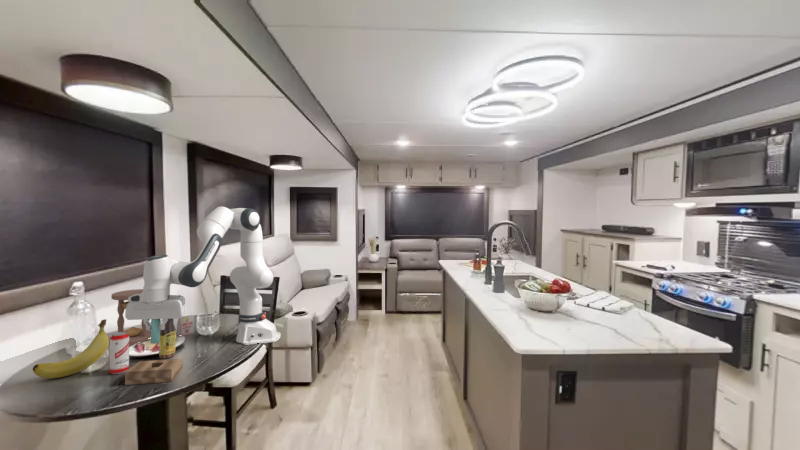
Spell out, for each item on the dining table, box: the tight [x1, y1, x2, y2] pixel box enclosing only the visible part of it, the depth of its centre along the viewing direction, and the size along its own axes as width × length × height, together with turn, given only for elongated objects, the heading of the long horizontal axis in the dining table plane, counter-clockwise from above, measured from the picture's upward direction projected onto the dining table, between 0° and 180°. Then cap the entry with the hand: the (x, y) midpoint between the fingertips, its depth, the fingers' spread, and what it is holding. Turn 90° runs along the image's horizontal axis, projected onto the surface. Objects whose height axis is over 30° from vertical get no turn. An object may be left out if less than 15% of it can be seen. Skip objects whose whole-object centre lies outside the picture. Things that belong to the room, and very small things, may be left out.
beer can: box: [108, 331, 130, 375], centre depth 139 cm, size 6×6×16 cm
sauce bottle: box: [158, 319, 177, 360], centre depth 155 cm, size 7×6×20 cm
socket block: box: [124, 358, 184, 386], centre depth 134 cm, size 16×10×5 cm, turn 102°
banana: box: [32, 318, 110, 379], centre depth 136 cm, size 23×6×20 cm, turn 147°
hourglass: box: [111, 288, 151, 346], centre depth 176 cm, size 18×18×25 cm
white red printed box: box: [176, 314, 194, 337], centre depth 185 cm, size 4×7×10 cm, turn 148°
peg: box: [150, 319, 161, 345], centre depth 134 cm, size 3×3×10 cm
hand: (155, 329), depth 134 cm, fingers closed on peg, 3 cm apart
